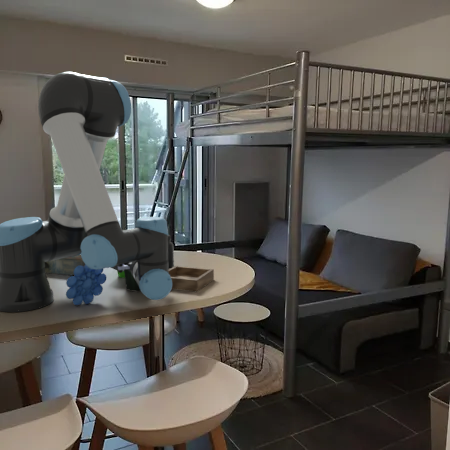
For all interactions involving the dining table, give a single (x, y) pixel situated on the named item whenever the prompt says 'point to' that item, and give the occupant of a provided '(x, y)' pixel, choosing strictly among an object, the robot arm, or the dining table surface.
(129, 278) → the potion bottle
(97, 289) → the grapes
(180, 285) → the walnut tray
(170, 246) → the supplement bottle
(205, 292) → the dining table surface
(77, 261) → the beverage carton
